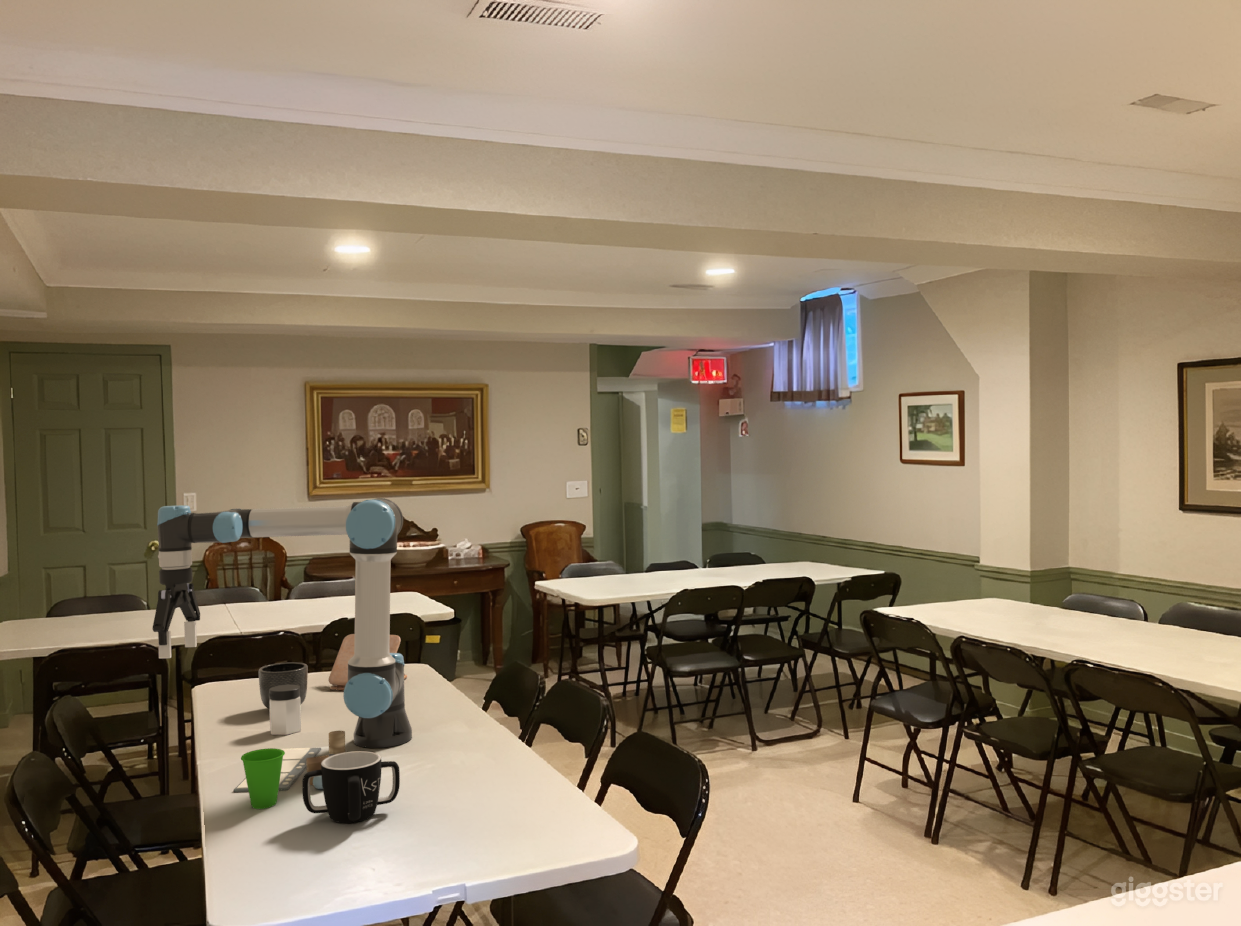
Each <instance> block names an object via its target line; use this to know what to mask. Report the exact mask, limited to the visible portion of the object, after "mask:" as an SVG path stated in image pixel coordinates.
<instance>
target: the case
mask: <svg viewBox="0 0 1241 926" xmlns="http://www.w3.org/2000/svg"><path fill="white" fill-rule="evenodd" d="M401 641H402V640H401V637H400V636H399V635H398V634H397V635H396V634H390V643H389V653H398V650H399V647H400V644H401ZM354 647H355V633H351V634H348V635H346V636H345V637H344V638H343V639H342V642H341V645H340V648H339V650H338V652H337V655H336V658H335V661H334V664H333V666H332V668H331V670H330V673H329V676H328V683H329V684H330V685H331V686H330V688H329V689H330V690H332V691H344V689H345V686H346V683H347V682H348V661H349V660H350V659H351V658H352V657H353V656H354ZM407 678H408V675H407V674H405V673H404V680H405V679H407Z"/></svg>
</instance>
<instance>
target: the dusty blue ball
mask: <svg viewBox="0 0 1241 926" xmlns="http://www.w3.org/2000/svg"><path fill="white" fill-rule="evenodd" d="M312 786H314V788H316V789H317V790H323V787H322V776H317V777H314V778H313V785H312Z"/></svg>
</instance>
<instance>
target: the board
mask: <svg viewBox="0 0 1241 926" xmlns="http://www.w3.org/2000/svg"><path fill="white" fill-rule="evenodd" d="M280 749H281V750H283V751H284V752H285V755H283V760H282V768H281V775H280V782H279V789H278V791H288V790H289V789H290V788H291V786H292V785H293V784H294V783H295V782H296V781H297V780H298V778H299V777H300V776H301V775H302V773H303V772H304V771H305V770H307V765H306V758H310V757H318V755H319V753H320V752H321V751H322V747H297V748H296V747H295V748H294V747H293V748H291V747H290V748H280ZM233 792H234V793H245V792H246V793H247V792H248V793H249V791H248V786H247V780H246V777H245V778H244V779H243V780H241V782H239V784H238V785H236V786H235V788H234V789H233Z"/></svg>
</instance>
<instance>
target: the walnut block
mask: <svg viewBox="0 0 1241 926" xmlns="http://www.w3.org/2000/svg"><path fill="white" fill-rule="evenodd" d="M328 757H329V754H328V755H327V754H326V755H320V756H319V755H317V756H316V757H310V758H306V765H307V768H306V773H307V772H310V771H315V770H320V769H321V763H322V761H323V760H324V759H326V758H328ZM313 778H314V777H311V778H310V786H314V785H313Z"/></svg>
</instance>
